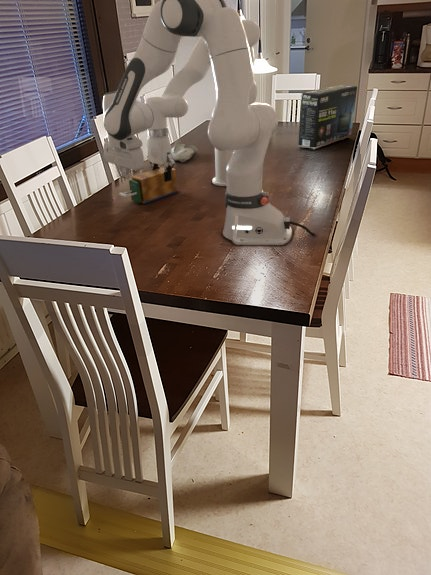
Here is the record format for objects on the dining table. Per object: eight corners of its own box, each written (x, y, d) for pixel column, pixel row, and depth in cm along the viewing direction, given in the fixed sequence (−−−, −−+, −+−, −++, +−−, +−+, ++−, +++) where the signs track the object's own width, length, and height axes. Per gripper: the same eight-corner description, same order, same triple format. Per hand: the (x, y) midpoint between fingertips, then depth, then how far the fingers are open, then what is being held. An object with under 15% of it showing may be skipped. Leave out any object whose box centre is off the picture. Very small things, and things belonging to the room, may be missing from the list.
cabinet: (144, 204, 176) (141, 179, 171) (134, 200, 180) (131, 176, 175) (177, 192, 186) (175, 169, 181) (167, 188, 190) (165, 166, 185)
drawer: (127, 207, 171) (124, 186, 167) (119, 203, 175) (116, 184, 170) (171, 191, 184) (169, 172, 180) (163, 189, 187) (161, 170, 183)
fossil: (184, 156, 217) (163, 136, 220) (174, 174, 223) (154, 154, 227) (205, 153, 231) (186, 134, 234) (195, 171, 237) (176, 152, 240)
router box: (314, 151, 231) (318, 94, 217) (296, 148, 237) (299, 92, 224) (352, 138, 251) (358, 85, 238) (335, 135, 258) (340, 83, 245)
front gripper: (96, 137, 167) (102, 174, 174) (130, 145, 154) (135, 185, 162) (111, 133, 171) (116, 170, 178) (145, 142, 158) (149, 181, 165)
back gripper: (136, 131, 176) (141, 177, 185) (165, 137, 165) (169, 186, 175) (151, 127, 180) (156, 172, 190) (180, 133, 170) (184, 181, 179)
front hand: (125, 177), depth 170 cm, fingers closed
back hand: (162, 178), depth 182 cm, fingers closed on cabinet, 6 cm apart
